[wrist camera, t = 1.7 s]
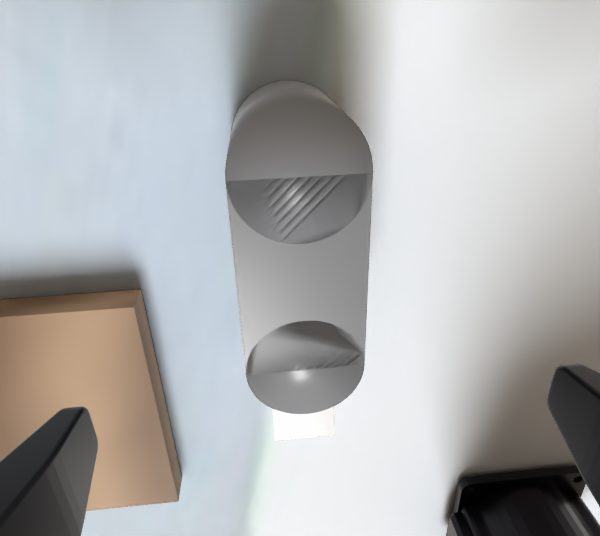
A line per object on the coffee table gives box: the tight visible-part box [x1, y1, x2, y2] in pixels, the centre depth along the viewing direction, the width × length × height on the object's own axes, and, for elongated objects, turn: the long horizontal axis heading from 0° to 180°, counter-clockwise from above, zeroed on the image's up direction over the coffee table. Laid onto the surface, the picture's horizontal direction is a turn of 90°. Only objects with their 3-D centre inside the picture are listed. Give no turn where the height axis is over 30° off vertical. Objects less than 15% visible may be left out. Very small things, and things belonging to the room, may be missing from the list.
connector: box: [225, 80, 373, 441], centre depth 15 cm, size 4×12×4 cm, turn 2°
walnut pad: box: [0, 289, 182, 511], centre depth 18 cm, size 11×10×1 cm
